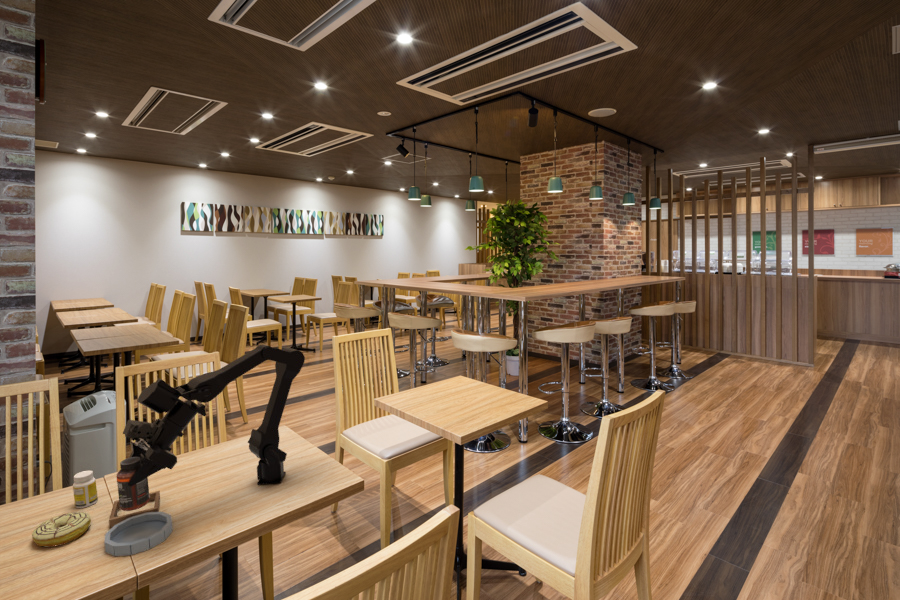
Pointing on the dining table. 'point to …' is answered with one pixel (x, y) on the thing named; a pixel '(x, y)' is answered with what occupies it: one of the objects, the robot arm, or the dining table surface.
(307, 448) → the dining table surface
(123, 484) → the supplement bottle
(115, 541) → the dish
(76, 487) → the supplement bottle
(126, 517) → the tray
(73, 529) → the decorated donut
